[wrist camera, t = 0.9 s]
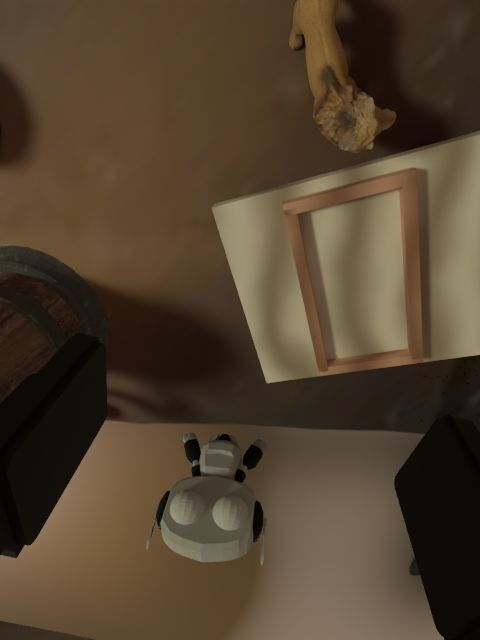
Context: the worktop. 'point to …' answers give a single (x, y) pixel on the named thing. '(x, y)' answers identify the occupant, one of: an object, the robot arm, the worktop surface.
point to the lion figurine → (335, 80)
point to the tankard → (41, 312)
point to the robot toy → (213, 503)
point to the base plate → (362, 263)
